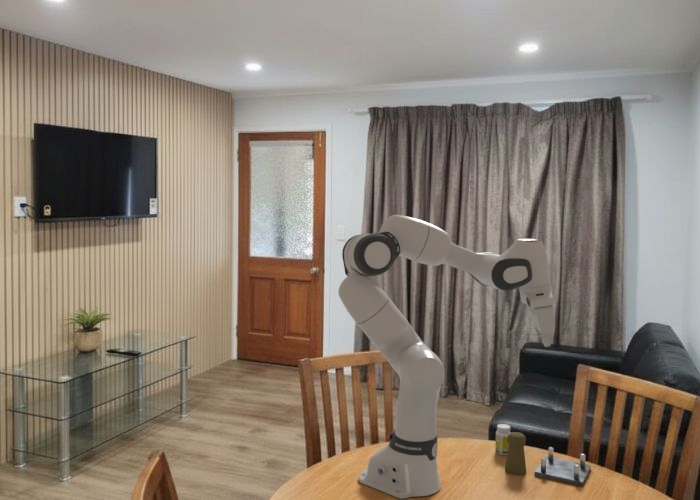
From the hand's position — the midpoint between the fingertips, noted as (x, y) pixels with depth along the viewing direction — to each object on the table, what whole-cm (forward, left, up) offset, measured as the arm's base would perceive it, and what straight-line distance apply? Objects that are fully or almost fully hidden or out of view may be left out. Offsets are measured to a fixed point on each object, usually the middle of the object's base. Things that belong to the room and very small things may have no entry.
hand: (543, 341), depth 176 cm
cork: (-6, -4, -38) cm, 39 cm away
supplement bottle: (-13, +7, -38) cm, 41 cm away
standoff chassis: (+6, +2, -38) cm, 39 cm away
